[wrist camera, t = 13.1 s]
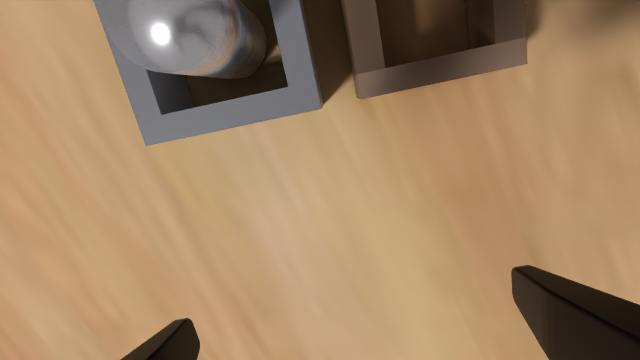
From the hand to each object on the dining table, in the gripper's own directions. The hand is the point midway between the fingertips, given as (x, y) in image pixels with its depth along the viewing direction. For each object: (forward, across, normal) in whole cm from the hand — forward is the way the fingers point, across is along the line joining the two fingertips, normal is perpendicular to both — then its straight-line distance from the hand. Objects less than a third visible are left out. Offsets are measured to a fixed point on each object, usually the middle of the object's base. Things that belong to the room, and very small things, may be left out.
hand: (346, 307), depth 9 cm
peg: (+12, +4, -10) cm, 16 cm away
